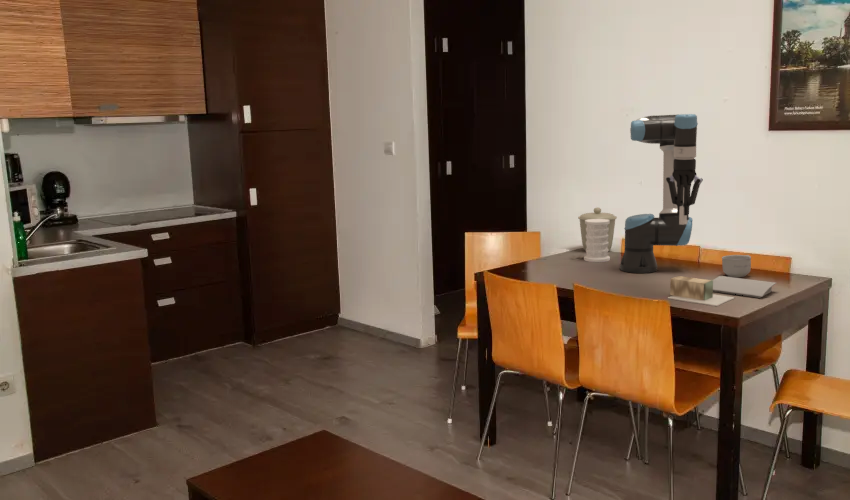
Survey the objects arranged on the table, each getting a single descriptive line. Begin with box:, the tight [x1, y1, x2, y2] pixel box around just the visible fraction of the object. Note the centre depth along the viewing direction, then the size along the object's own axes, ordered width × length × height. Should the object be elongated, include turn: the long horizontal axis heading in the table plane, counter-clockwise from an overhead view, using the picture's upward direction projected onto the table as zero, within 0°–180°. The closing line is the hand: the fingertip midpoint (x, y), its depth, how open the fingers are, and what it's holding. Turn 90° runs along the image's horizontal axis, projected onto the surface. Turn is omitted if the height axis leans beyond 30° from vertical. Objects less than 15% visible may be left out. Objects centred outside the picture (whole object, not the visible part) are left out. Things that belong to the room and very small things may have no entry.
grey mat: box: [667, 293, 735, 307], centre depth 265 cm, size 18×14×1 cm
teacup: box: [721, 254, 752, 278], centre depth 298 cm, size 14×11×8 cm
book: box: [712, 275, 777, 299], centre depth 274 cm, size 15×23×4 cm, turn 46°
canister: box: [578, 206, 618, 251], centre depth 360 cm, size 18×18×21 cm
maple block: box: [669, 275, 714, 300], centre depth 267 cm, size 6×6×13 cm
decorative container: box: [583, 219, 611, 263], centre depth 339 cm, size 12×12×18 cm
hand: (682, 223), depth 270 cm, fingers closed
